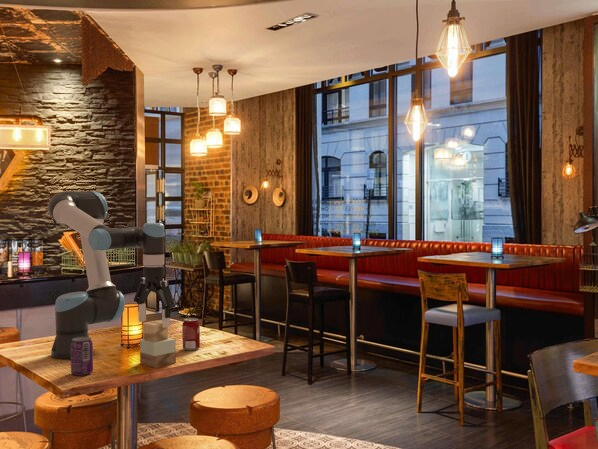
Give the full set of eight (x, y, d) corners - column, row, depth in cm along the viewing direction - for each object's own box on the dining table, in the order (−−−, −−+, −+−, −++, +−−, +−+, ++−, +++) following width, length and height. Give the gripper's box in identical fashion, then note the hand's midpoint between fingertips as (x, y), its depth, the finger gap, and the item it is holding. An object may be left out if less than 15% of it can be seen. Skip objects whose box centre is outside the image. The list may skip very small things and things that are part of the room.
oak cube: (154, 341, 221) (154, 325, 221) (144, 339, 225) (143, 323, 225) (167, 339, 226) (167, 322, 225) (157, 336, 229) (157, 320, 229)
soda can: (196, 351, 243) (195, 321, 242) (179, 350, 244) (179, 320, 244) (202, 347, 249) (202, 317, 249) (186, 346, 251) (186, 317, 250)
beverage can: (95, 370, 216) (95, 336, 215) (89, 376, 209) (88, 340, 208) (75, 370, 216) (74, 336, 215) (68, 376, 208) (67, 341, 208)
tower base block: (155, 368, 219) (155, 356, 219) (140, 364, 225) (140, 352, 225) (176, 363, 226) (175, 351, 226) (160, 359, 232) (160, 347, 232)
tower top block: (154, 356, 219) (154, 343, 219) (140, 352, 225) (140, 339, 225) (175, 351, 225) (175, 339, 225) (161, 347, 232) (161, 335, 231)
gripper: (184, 267, 220) (184, 327, 221) (140, 262, 235) (140, 318, 236) (168, 269, 214) (168, 330, 215) (124, 263, 229) (124, 321, 230)
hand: (153, 324), depth 226 cm, fingers open, 13 cm apart
